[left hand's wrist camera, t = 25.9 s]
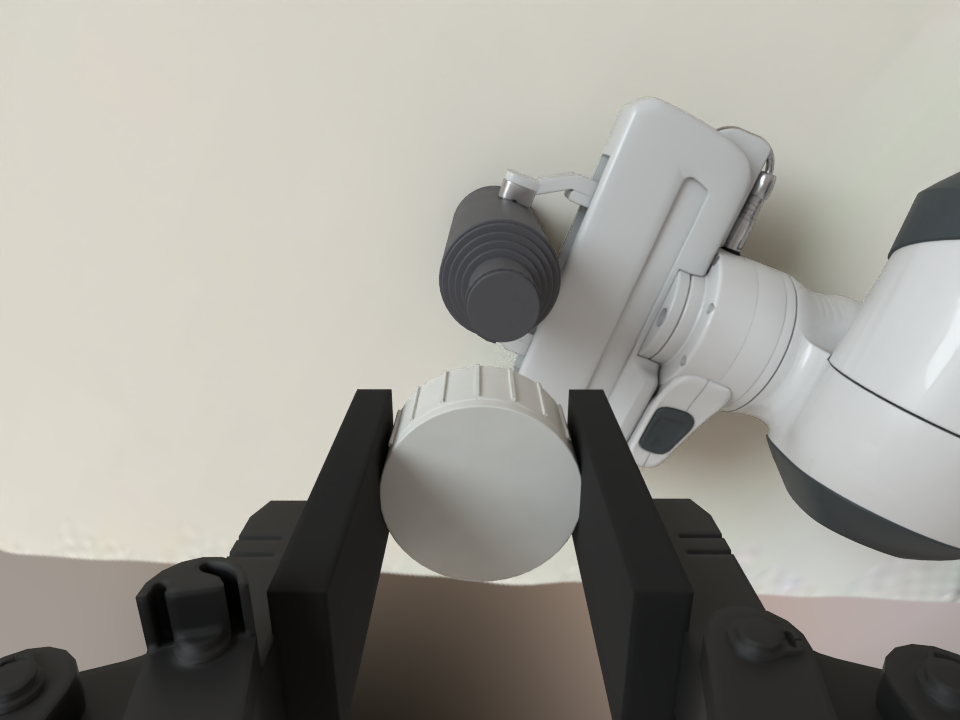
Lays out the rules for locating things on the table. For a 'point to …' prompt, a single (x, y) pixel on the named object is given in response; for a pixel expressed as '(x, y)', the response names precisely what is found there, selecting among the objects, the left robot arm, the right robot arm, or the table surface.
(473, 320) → the bottle
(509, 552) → the cap
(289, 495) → the table surface
